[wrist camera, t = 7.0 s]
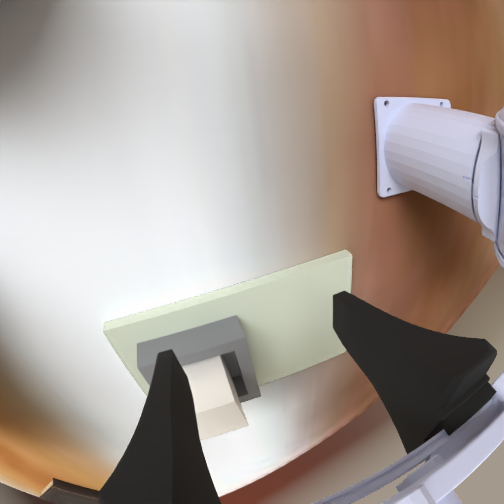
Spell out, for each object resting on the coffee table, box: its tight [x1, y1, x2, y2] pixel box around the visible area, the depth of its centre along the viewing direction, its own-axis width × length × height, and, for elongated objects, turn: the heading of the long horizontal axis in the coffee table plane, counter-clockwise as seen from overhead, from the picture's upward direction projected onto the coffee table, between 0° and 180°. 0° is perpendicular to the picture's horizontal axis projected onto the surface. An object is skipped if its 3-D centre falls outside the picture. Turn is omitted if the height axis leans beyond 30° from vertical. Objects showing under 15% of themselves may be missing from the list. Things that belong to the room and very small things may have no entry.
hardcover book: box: [40, 478, 99, 504], centre depth 37 cm, size 16×23×2 cm
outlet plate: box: [103, 249, 352, 403], centre depth 23 cm, size 20×12×4 cm, turn 100°
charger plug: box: [182, 355, 248, 440], centre depth 21 cm, size 4×4×6 cm
